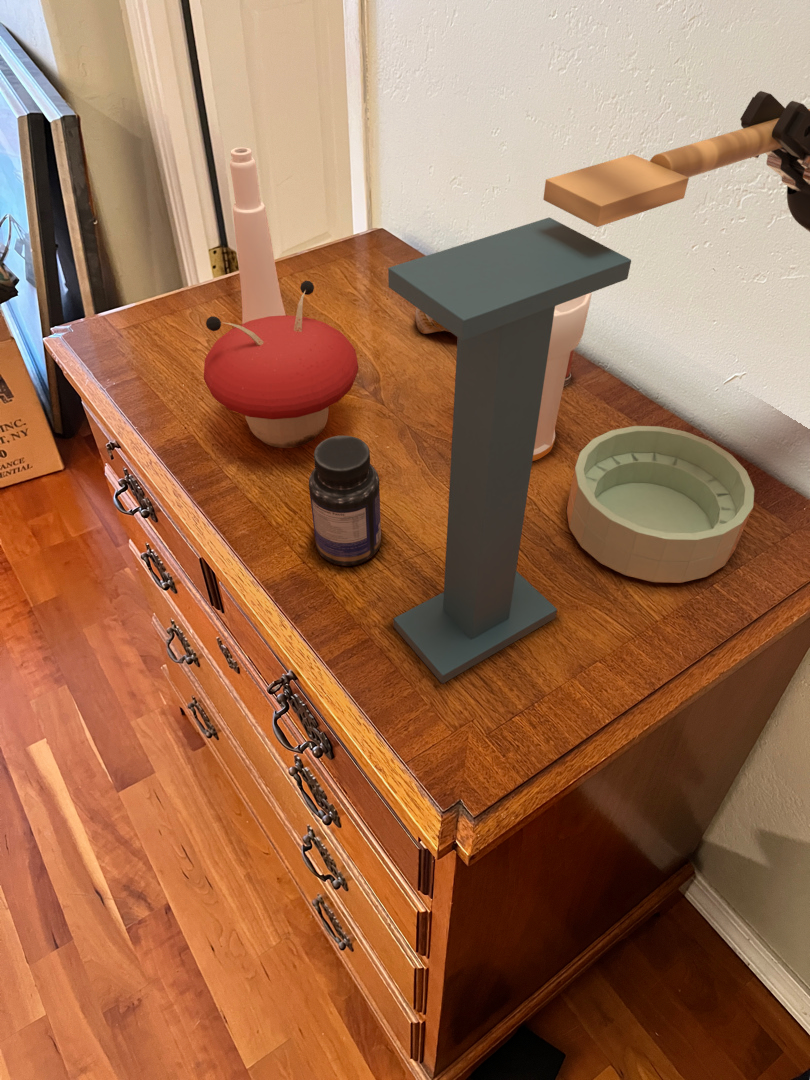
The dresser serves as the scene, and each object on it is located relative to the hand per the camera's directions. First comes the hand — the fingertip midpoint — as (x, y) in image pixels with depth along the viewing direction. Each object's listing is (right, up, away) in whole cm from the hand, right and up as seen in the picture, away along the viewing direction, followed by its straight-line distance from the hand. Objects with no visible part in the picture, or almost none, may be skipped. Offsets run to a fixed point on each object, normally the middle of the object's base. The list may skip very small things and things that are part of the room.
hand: (769, 113), depth 50 cm
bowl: (0, -25, +26) cm, 36 cm away
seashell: (-16, 0, +52) cm, 54 cm away
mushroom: (-36, -15, +37) cm, 53 cm away
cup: (-11, -16, +36) cm, 41 cm away
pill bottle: (-28, -27, +24) cm, 46 cm away
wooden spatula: (-4, -4, 0) cm, 5 cm away
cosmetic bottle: (-40, -1, +51) cm, 65 cm away
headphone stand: (-17, -34, +17) cm, 42 cm away
